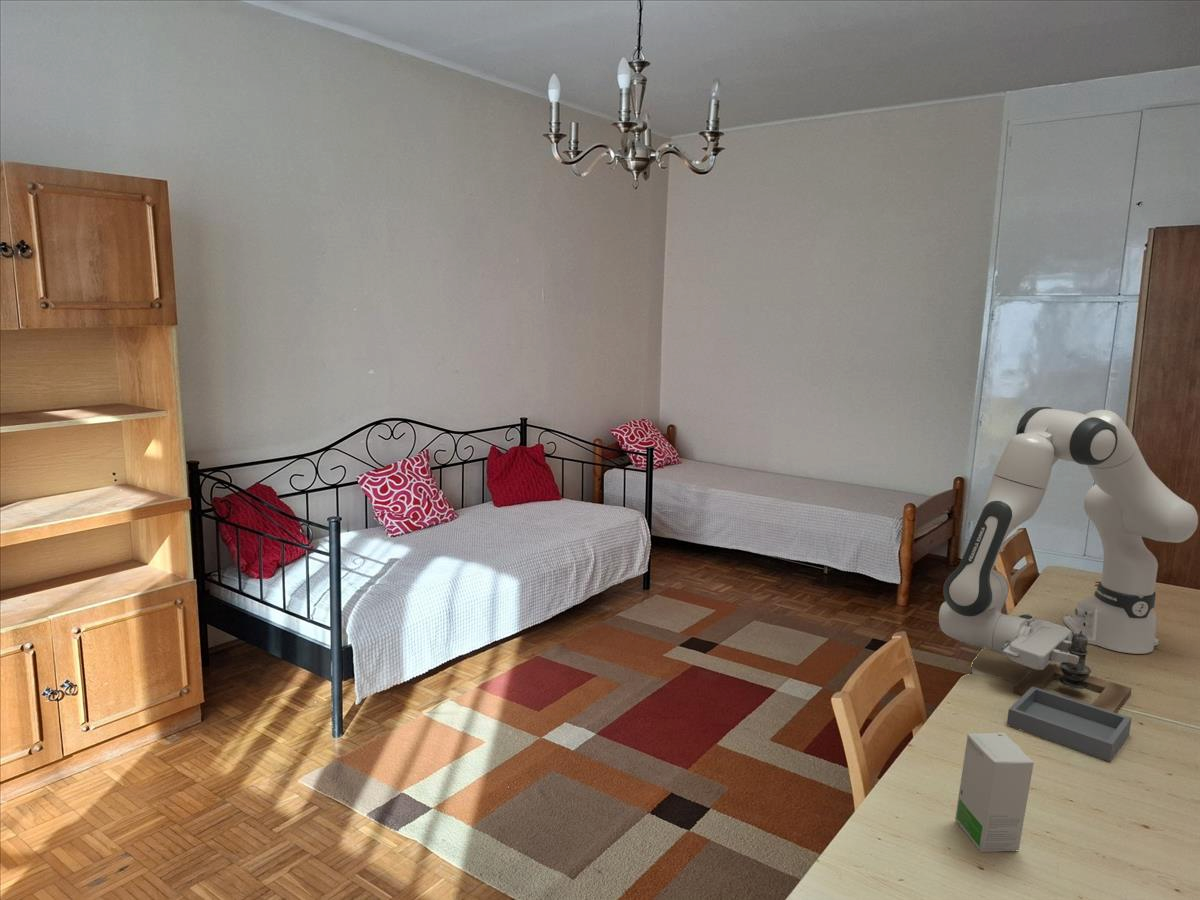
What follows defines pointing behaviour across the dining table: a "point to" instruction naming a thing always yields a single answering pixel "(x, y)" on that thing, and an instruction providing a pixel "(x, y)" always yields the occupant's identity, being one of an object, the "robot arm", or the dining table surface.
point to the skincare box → (993, 791)
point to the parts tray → (1070, 723)
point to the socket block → (1110, 692)
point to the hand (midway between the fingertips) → (1082, 656)
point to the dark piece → (1078, 671)
